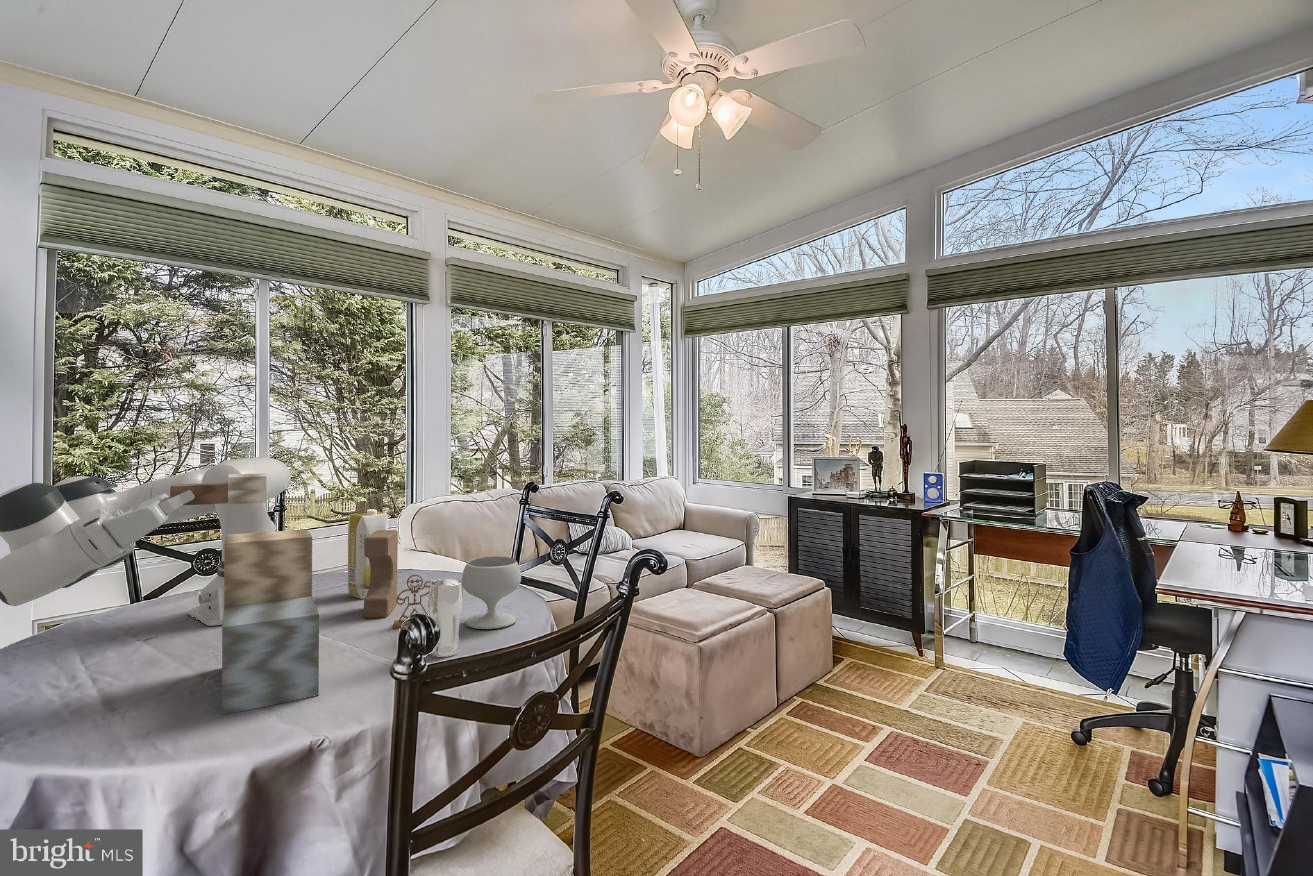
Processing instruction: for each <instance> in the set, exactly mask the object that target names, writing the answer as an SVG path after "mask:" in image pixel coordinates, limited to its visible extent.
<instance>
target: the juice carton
mask: <svg viewBox="0 0 1313 876" xmlns="http://www.w3.org/2000/svg"><path fill="white" fill-rule="evenodd" d="M347 526H348V527H347V589H348V590H347V591H348V594H349V596H350V597H353V598H357V599H359V600H360V599H361V600H364V599H365V598H366V596H367V593H368V589H369V583H370V563H369V559H368V557H365V556H364V543H365V538H366V537H368V536H369V535H371V534H372V533H374V532H375V531H377V530H389V517H388V513H386V512H382V511H378V510H377V509H375V508H373V509H372V508H371V509H370V508H369V509H367V510H366V513H351V514H349V517H348V525H347Z"/></svg>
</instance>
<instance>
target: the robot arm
mask: <svg viewBox="0 0 1313 876" xmlns="http://www.w3.org/2000/svg"><path fill="white" fill-rule="evenodd" d="M229 474H266V476H267V500H269V499H272V498H274V497H275V498H276V497H277V496H278V495H279V494H281V493H283V492H284V491H285V490H286V489H287V488H288V487H289V485H290V482H291V471H290V469H289V466H287V464H285V462H283V461H281V460H280V459H276V458H273V457H272V458H271V457H268V456H257V457H255V456H254V457H246V458H235V459H227V460H224V461H222V462H220V463H219V462H218V463H217V464H215V465H214V466H211V467H206V468H200V469H195V470H191V471H187V472H183V473H178V474H175V475H172V476H166V477H164V478H163V477H162V478H159V479H155V480H151V481H148V482H144V483H142V484H139V485H137V486H134V487H132V488H129V489H126V490H123V491H116V490H113V489H114V488H117V487H119V485H118V484H117V483H113V484H112V483H110V482H109V481H108V480H106V479H104V478H102V477H97V476H93V475H92V476H86V475H80V476H79V475H77V476H70V477H68V478H65V479H62V480H60V481H58V482H57V483H55V484H54V485H52V484H48V483H43V482H32V483H25V484H21V485H18V486H16V487H15V486H14V487H12V488H10V489H8V490H6V491H4V492H2V493H0V537H1V538H2V539H3V540H4V542H5V543H6V544H8V548H9V551H10V552H9V553H7V555H4V556H3V557H1V558H0V601H1V602H2V603H4V604H6V605H8V606H12V607H18V606H21V605H24V604H27V603H30V602H32V601H35V600H37V599H39V598H42V597H44V596H46V595H49V594H51V593H54V592H56V591H57V590H61V589H68V588H69V587H71V586H73V585H75V584H77V583H80V582H81V581H83V580H85V579H87V578H89V577H91V576H92V575H94V574H96V573H97V572H98V571H102V570H107V569H110V568H113V567H115V566H117V565H118V564H120V563H122V562H123V561H125V560H127V559H128V558H129V556H130V555H131V554H132V552H134V551H135V550H136V549H135V548H136V547H135V544H134V543H135V542H138V541H139V540H141V539H142V538H144V537H145V536H147V535H148V534H150V533H151V532H153V531H155V530H156V529H157V528H159V527H161V526H162V525H167V524H172V523H177V522H181V521H184V520H189V519H192V518H197V517H200V516H204V515H208V514H209V515H210V514H213V513H216V515H217V517H218V520H219V524H220V528H221V529H220V530H221V560H219V561H216V563H217V565H216V567H217V570H216V571H217V573H216V575H217V576H215V577H214V578H213V579H212V580H211V581H210V582H209V583H208V584H206V585H205V586H204V587H203V588H202V589H201V590H200V594H198V598H197V600H198V603H199V605H198V606H196V607H193V608H191V609H189V610H188V611H187V614H188V613H189V615H188V616H190V615H191V616H190V617H192V616H193V617H195V618H196V619H195V618H194V619H195V620H197V619H198V620H200V621H201V622H200V621H199V622H200V623H202V622H203V623H204V625H205V624H206V625H205V626H208V627H211V626H222V625H223V614H224V543H225V535H231V534H246V533H260V532H275V531H276V529H277V528H276V525H275V523H274V522H273V521H272V519H271V518H270V516H269V514H268V510H267V507H266V503H250V504H228V503H226V504H204V505H183V504H185V503H187V502H189V501H191V500H193V499H194V498H195V495H194V494H193V492H192V491H191V490H187V491H185V492H183V493H181V494H179V495H177V496H175V497H172V498H170V486H171V485H177V484H210V483H228V475H229ZM193 617H192V618H193ZM198 620H197V621H198ZM203 623H202V624H203Z"/></svg>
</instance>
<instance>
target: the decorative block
mask: <svg viewBox="0 0 1313 876" xmlns="http://www.w3.org/2000/svg"><path fill="white" fill-rule="evenodd" d="M398 536H399V533H398V530H395V529H391V530H390V529H388V530H377V531H375V532H374V533H372V534H371V535H369V536H368V537H366V538H365V543H364V556H365V557H368V559H369V563H370V583H369V589H368V593H367V596H366V598H365V599H363V618H364V619H381V618H383V617H386V618H387V617H388V616H389V615H390V614H391V613H392V611H393V610H394V609H395V608H396V606H397V605H398V604H397V601H396V600H397V596H398V559H399V558H398V550H399V548H398V545H399V544H398V542H399V541H398V540H399V539H398V538H399V537H398ZM383 619H384V618H383Z"/></svg>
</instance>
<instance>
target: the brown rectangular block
mask: <svg viewBox="0 0 1313 876" xmlns="http://www.w3.org/2000/svg"><path fill="white" fill-rule="evenodd" d="M187 490H191V491H192V492H193V494H194V495H195V498H194V499H193V500H191V501H189V502H187V503H185V504H183V505H204V504H226V503H228V504H250V503H265V504H267V500H268V499H267V476H266V474H229V475H228V483H210V484H177V485H171V486H170V498H172V497H175V496H177V495H179V494H181V493H183V492H185V491H187Z"/></svg>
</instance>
